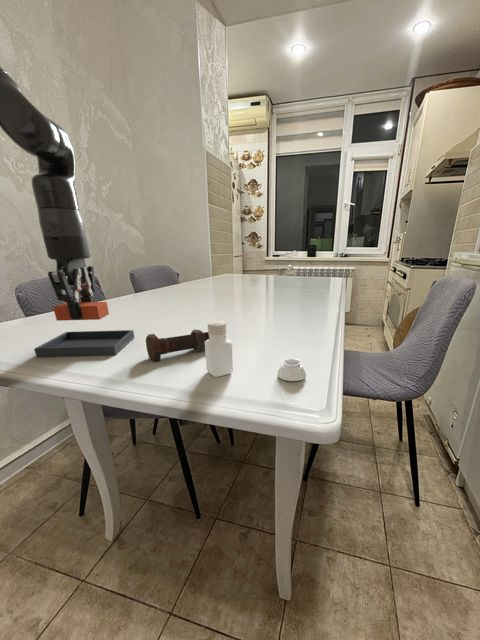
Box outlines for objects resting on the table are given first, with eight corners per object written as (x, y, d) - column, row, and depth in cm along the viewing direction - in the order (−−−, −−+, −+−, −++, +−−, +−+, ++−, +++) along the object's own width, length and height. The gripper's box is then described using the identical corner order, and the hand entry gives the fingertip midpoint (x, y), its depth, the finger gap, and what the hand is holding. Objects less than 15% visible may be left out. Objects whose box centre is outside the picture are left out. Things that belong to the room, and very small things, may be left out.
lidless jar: (273, 380, 51) (301, 385, 49) (273, 364, 50) (302, 369, 48) (282, 369, 55) (308, 373, 53) (283, 355, 54) (309, 358, 52)
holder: (36, 357, 61) (34, 348, 61) (68, 339, 73) (66, 331, 72) (115, 355, 62) (114, 346, 62) (134, 337, 74) (133, 330, 73)
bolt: (218, 353, 68) (152, 366, 60) (209, 338, 70) (145, 349, 62) (223, 336, 64) (153, 347, 56) (214, 320, 66) (146, 329, 58)
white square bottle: (234, 373, 53) (232, 323, 50) (214, 379, 51) (210, 327, 48) (224, 366, 57) (222, 319, 53) (205, 371, 55) (201, 322, 51)
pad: (56, 320, 62) (52, 306, 61) (69, 315, 67) (65, 302, 66) (99, 319, 63) (96, 306, 62) (109, 314, 68) (106, 301, 67)
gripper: (65, 235, 65) (82, 309, 71) (20, 233, 52) (46, 325, 58) (99, 235, 66) (113, 308, 72) (64, 233, 53) (85, 323, 59)
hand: (83, 315), depth 65 cm, fingers closed on pad, 5 cm apart
